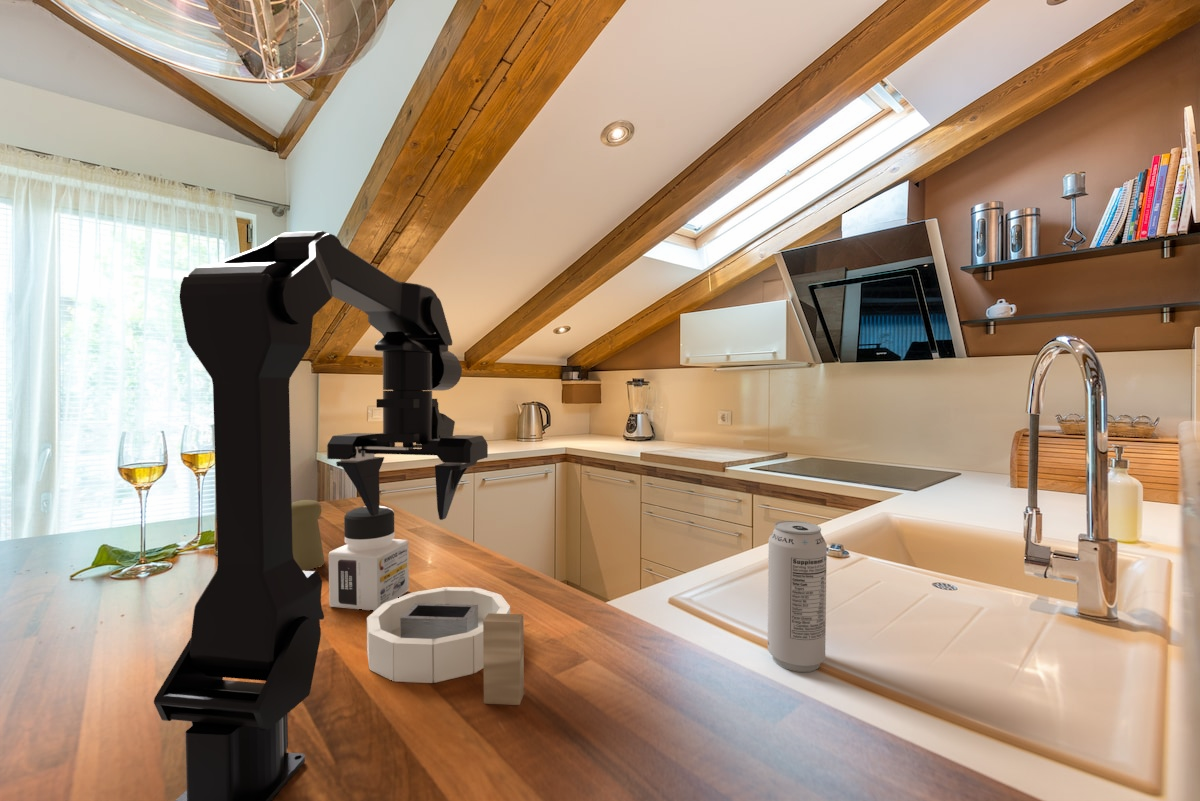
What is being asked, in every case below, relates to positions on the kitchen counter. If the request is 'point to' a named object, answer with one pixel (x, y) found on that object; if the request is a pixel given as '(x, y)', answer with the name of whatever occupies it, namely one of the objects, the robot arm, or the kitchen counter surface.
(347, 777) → the kitchen counter surface
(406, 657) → the white faceted bowl
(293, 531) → the cork
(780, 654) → the energy drink can
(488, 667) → the wooden block
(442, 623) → the open rectangular box
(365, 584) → the container
